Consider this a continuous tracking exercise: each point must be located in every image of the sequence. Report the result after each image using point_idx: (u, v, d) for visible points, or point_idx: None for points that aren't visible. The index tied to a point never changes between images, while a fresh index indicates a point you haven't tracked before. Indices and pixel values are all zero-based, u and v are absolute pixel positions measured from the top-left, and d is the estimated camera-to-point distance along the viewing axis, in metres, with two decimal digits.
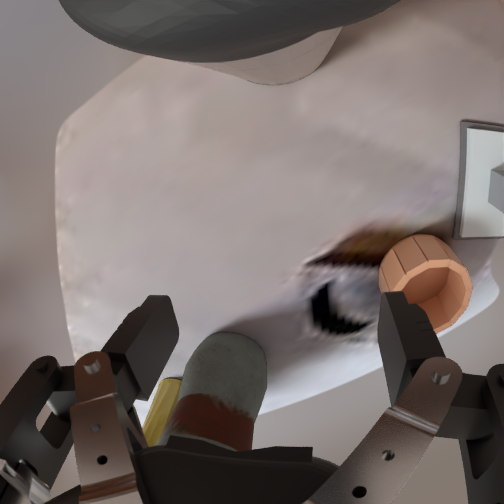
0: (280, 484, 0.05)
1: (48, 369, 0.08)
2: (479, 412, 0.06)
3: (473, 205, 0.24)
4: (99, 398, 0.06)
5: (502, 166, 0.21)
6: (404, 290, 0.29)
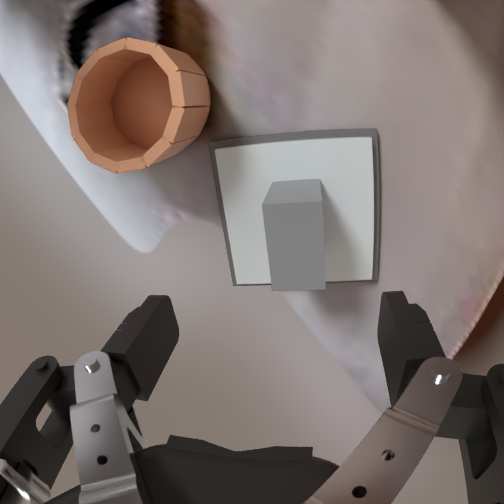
0: (280, 484, 0.05)
1: (48, 369, 0.08)
2: (479, 412, 0.06)
3: (263, 157, 0.20)
4: (99, 398, 0.06)
5: (327, 198, 0.20)
6: (129, 90, 0.19)
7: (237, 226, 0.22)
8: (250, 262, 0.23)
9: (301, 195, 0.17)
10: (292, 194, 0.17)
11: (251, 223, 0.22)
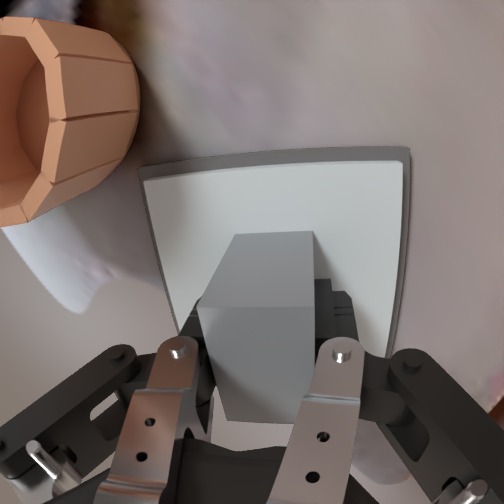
0: None
1: (125, 358, 0.08)
2: (383, 394, 0.07)
3: (219, 194, 0.12)
4: (167, 391, 0.07)
5: (324, 262, 0.13)
6: (34, 95, 0.11)
7: (184, 296, 0.14)
8: None
9: (276, 280, 0.09)
10: (259, 275, 0.09)
11: None
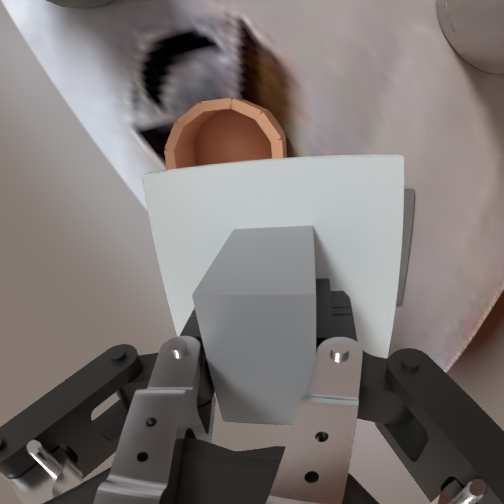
0: None
1: (127, 358, 0.08)
2: (381, 394, 0.07)
3: (218, 188, 0.12)
4: (169, 391, 0.07)
5: (325, 258, 0.12)
6: (213, 136, 0.24)
7: (180, 295, 0.14)
8: None
9: (276, 270, 0.09)
10: (258, 265, 0.09)
11: None
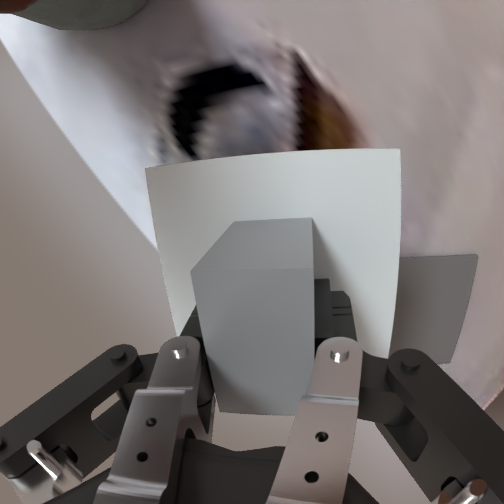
0: None
1: (127, 358, 0.08)
2: (381, 394, 0.07)
3: (219, 180, 0.12)
4: (169, 391, 0.07)
5: (324, 251, 0.12)
6: None
7: (180, 289, 0.14)
8: None
9: (274, 251, 0.09)
10: (256, 248, 0.09)
11: None
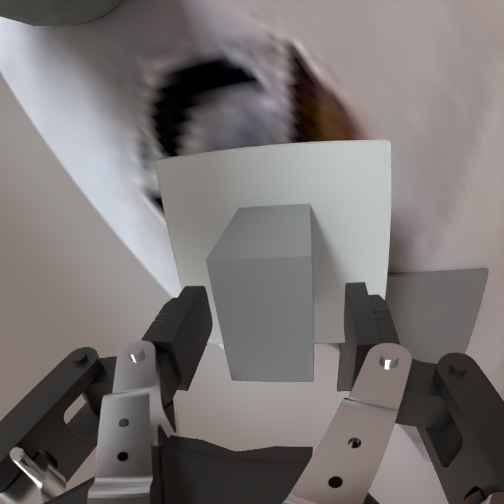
0: (280, 484, 0.05)
1: (88, 361, 0.08)
2: (430, 399, 0.06)
3: (224, 171, 0.13)
4: (134, 392, 0.07)
5: (321, 233, 0.14)
6: None
7: (190, 269, 0.15)
8: None
9: (277, 239, 0.10)
10: (261, 236, 0.10)
11: None
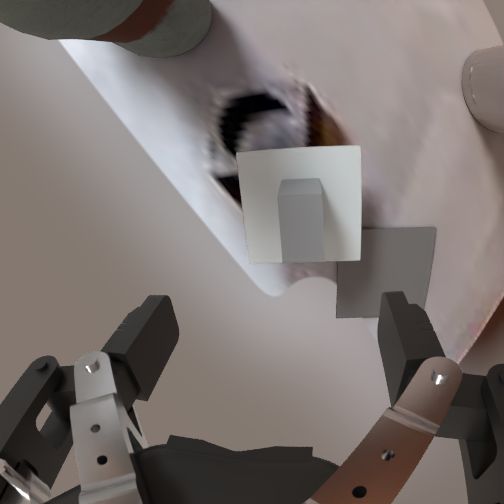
0: (280, 484, 0.05)
1: (48, 369, 0.08)
2: (479, 412, 0.06)
3: (275, 160, 0.25)
4: (99, 398, 0.06)
5: (324, 193, 0.26)
6: None
7: (251, 215, 0.27)
8: (261, 245, 0.28)
9: (306, 189, 0.22)
10: (298, 188, 0.22)
11: (263, 212, 0.27)
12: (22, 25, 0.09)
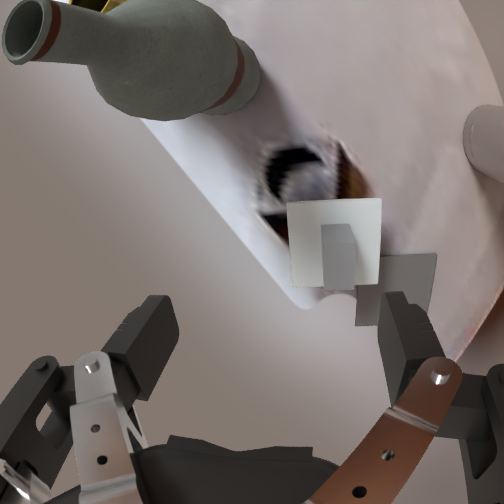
0: (280, 484, 0.05)
1: (48, 369, 0.08)
2: (479, 412, 0.06)
3: (316, 209, 0.33)
4: (99, 398, 0.06)
5: (353, 235, 0.33)
6: None
7: (296, 250, 0.35)
8: (302, 273, 0.36)
9: (343, 237, 0.30)
10: (337, 236, 0.30)
11: (305, 249, 0.35)
12: (138, 115, 0.17)
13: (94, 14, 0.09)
